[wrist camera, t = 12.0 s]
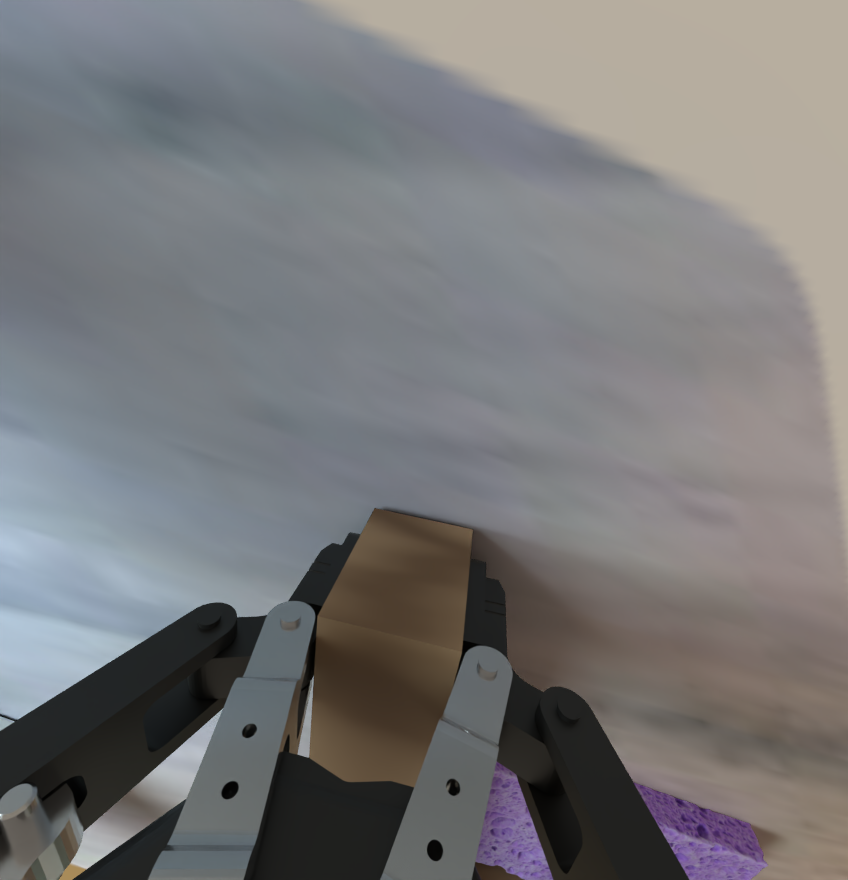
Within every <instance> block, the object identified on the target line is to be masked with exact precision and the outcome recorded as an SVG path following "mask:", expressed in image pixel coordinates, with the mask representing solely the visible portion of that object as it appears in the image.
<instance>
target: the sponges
mask: <svg viewBox="0 0 848 880" xmlns="http://www.w3.org/2000/svg"><path fill="white" fill-rule="evenodd" d="M633 783H634V782H633ZM634 784H635V786H636V788H637V790H638V791H639V793H640V795H641V797H642V798H643V800H644V802H645V803H646V805H647V807H648V809H649V810H650V812H651V814H652V816H653V817H654V819H655V821H656V822H657V824H658V826H659V828H660V829H661V831H662V833H663V835H664V836H665V838H666V840H667V842H668V843H669V845H670V847H671V848H672V850H673V852H674V854H675V855H676V857H677V859H678V861H679V862H680V864H681V866H682V867H683V869H684V871H685V873H686V874H687V876H688V878H689V880H750V879H752V878H753V877H754V876H756V875H757V874H758V873H759V872H760V871H761V870H762V869H763V868H765V867H767V866H768V864H767V863H766V862H765V861H764V860H763V851H762V849H761V848H760V847H759V843H758V840H757V837H756V835H755V833H754V831H753V830H752V829H751V825H750V824H749V823H746V822H743V821H740V820H737V819H734V818H731V817H729V816H726V815H723V814H720V813H716V812H713V811H711V810H709V809H701V808H699V807H698V806H697V805H695V804H693V803H690V802H687V801H684V800H680V799H677V798H675V797H673V796H670V795H667V794H664V793H662V792H658V791H655V790H653V789H651V788H648V787H645V786H642V785H639V784H637V783H634ZM475 862H478V863H482V864H486V865H489V866H495V865H498V866H501V867H503V868H504V869H505V870H506V872H507V873H510V874H515V875H517V876H519V877H520V878H522V879H525V880H553V877H552V874H551V872H550V869H549V866H548V863H547V861H546V858H545V855H544V852H543V849H542V847H541V844H540V841H539V838H538V835H537V833H536V830H535V827H534V824H533V821H532V819H531V816H530V813H529V810H528V807H527V805H526V802H525V799H524V796H523V794H522V791H521V788H520V785H519V782H518V779H517V775H516V774H515V773H513V772H512V771H510V770H509V769H507V768H506V767H504V766H503V765H501V764H500V763H498V762H497V761H496V766H495V771H494V775H493V780H492V785H491V790H490V794H489V799H488V804H487V809H486V814H485V818H484V823H483V828H482V833H481V837H480V842H479V847H478V852H477V856H476V861H475Z"/></svg>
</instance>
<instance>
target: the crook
mask: <svg viewBox="0 0 848 880" xmlns="http://www.w3.org/2000/svg"><path fill="white" fill-rule="evenodd" d="M472 534H473V529H468V528H464V527H459V526H454V525H450V524H445V523H441V522H436V521H431V520H427V519H422V518H418V517H413V516H409V515H404V514H399V513H395V512H390V511H386V510H381V509H377V508H375V509H374V511H373V512H372V514H371V516H370V518H369V520H368V522H367V524H366V526H365V528H364V529H363V531H362V533H361V535H360V537H359V539H358V541H357V543H356V545H355V546H354V548H353V550H352V552H351V554H350V556H349V558H348V560H347V561H346V563H345V565H344V567H343V569H342V571H341V573H340V575H339V577H338V578H337V580H336V582H335V584H334V586H333V588H332V590H331V592H330V593H329V595H328V597H327V599H326V601H325V603H324V605H323V607H322V609H321V610H320V612H319V614H318V617H317V634H316V651H315V669H314V686H313V703H312V720H311V737H310V754H309V758H310V759H312V760H313V761H315V762H316V763H318V764H319V765H321V766H322V767H324V768H325V769H327V770H328V771H330V772H331V773H333V774H334V775H336V776H337V777H339V778H340V779H342V780H344V781H346V782H371V781H393V782H397V783H400V784H404V785H407V786H411V787H415V784H416V781H417V779H418V776H419V773H420V771H421V768H422V765H423V762H424V760H425V757H426V754H427V751H428V749H429V746H430V743H431V741H432V738H433V735H434V732H435V730H436V727H437V724H438V722H439V720H440V717H442V716H443V713H444V711H445V708H446V705H447V703H448V700H449V697H450V694H451V691H452V689H453V685H454V681H455V677H456V673H457V669H458V665H459V661H460V658H461V654H462V646H463V635H464V623H465V612H466V601H467V590H468V579H469V568H470V557H471V545H472ZM475 866H476V869H477V871H478V873H479V875H480V878H481V880H525V879H522V878H520V877H519V876H517V875H515V874H510V873H507V872H506V870H505V869H504V868H503V867H501V866H498V865H495V866H489V865H486V864H482V863H478V862H475Z"/></svg>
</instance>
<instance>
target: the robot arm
mask: <svg viewBox="0 0 848 880" xmlns="http://www.w3.org/2000/svg"><path fill="white" fill-rule="evenodd" d="M359 537H360V534H356V533H351V532H350V533H349V534H348V536H347V538H346V539H345V541H344V543H343V544H342V545H339V544H334V543H332V544H330V545H329V546H327V547H326V548H324V549H323V550H321V552H320V553H319V555H318V556H317V558H316V559H315V561H314V563H313V564H312V565H311V567H310V569H309V571H308V572H307V573H306V575H305V576H304V578H303V579H302V581H301V582H300V584H299V585H298V587H297V589H296V590H295V592H294V593H293V595H292V596H291V598H290V599H289V601H288V602H284V603H281V604H279V605H277V606H276V607H274V608H273V609H272V610H271V611H270V612H269V613H268V615H265V616H259V617H237V614H236V611H235V609H234V608H233V607H232V606H230V605H228V604H225V603H209V604H206V605H203V606H200V607H198V608H196V609H194V610H193V611H191V612H190V613H188V614H186V615H185V616H183V617H182V618H180V619H178V620H177V621H175V622H174V623H172V624H170V625H169V626H167V627H166V628H164V629H162V630H161V631H159V632H158V633H156V634H154V635H153V636H151V637H150V638H148V639H146V640H145V641H143V642H142V643H140V644H138V645H137V646H135V647H134V648H132V649H130V650H129V651H127V652H126V653H124V654H122V655H121V656H119V657H118V658H116V659H114V660H113V661H111V662H110V663H108V664H106V665H105V666H103V667H102V668H100V669H98V670H97V671H95V672H94V673H92V674H90V675H89V676H87V677H86V678H84V679H82V680H81V681H79V682H78V683H76V684H74V685H73V686H71V687H70V688H68V689H66V690H65V691H63V692H62V693H60V694H58V695H57V696H55V697H54V698H52V699H50V700H49V701H47V702H46V703H44V704H42V705H41V706H39V707H38V708H36V709H34V710H33V711H31V712H30V713H28V714H26V715H25V716H23V717H22V718H20V719H18V720H17V721H15V722H14V723H12V724H10V725H9V726H7V727H6V728H4V729H2V730H1V731H0V880H59V879H60V877H61V876H62V874H63V871H64V870H65V869H66V868H67V866H68V865H69V864H70V863H71V861H72V859H73V858H74V856H75V855H76V853H77V851H78V849H79V846H80V843H81V841H82V836H83V832H84V831H85V830H86V829H87V828H88V827H89V826H90V825H92V824H93V823H94V822H95V821H96V820H97V819H98V818H99V817H101V816H102V815H103V814H104V813H105V812H106V811H107V810H108V809H110V808H111V807H112V806H113V805H114V804H115V803H116V802H118V801H119V800H120V799H121V798H122V797H123V796H124V795H125V794H127V793H128V792H129V791H130V790H131V789H132V788H133V787H134V786H136V785H137V784H138V783H139V782H140V781H141V780H142V779H143V778H145V777H146V776H147V775H148V774H149V773H150V772H151V771H153V770H154V769H155V768H156V767H157V766H158V765H159V764H160V763H162V762H163V761H164V760H165V759H166V758H167V757H168V756H169V755H171V754H172V753H173V752H174V751H175V750H176V749H177V748H179V747H180V746H181V745H182V744H183V743H184V742H185V741H186V740H188V739H189V738H190V737H191V736H192V735H193V734H194V733H195V732H197V731H198V730H199V729H200V728H201V727H202V726H203V725H205V724H206V723H207V722H208V721H209V720H210V719H211V718H212V717H214V716H215V715H216V714H217V713H218V712H219V711H220V710H221V709H223V710H222V713H221V715H220V718H219V720H218V722H217V725H216V727H215V730H214V732H213V735H212V737H211V740H210V742H209V745H208V747H207V750H206V752H205V755H204V757H203V760H202V762H201V765H200V767H199V770H198V772H197V775H196V777H195V780H194V782H193V785H192V787H191V789H190V792H189V794H188V797H187V799H185V800H184V801H182V802H181V803H180V804H178V805H177V806H175V807H174V808H173V809H171V810H170V811H168V812H167V813H166V814H164V815H163V816H161V817H160V818H159V819H157V820H156V821H154V822H153V823H151V824H150V825H149V826H147V827H146V828H144V829H143V830H142V831H140V832H139V833H137V834H136V835H135V836H133V837H132V838H130V839H129V840H128V841H126V842H125V843H123V844H122V845H121V846H119V847H118V848H116V849H115V850H113V851H112V852H111V853H109V854H108V855H106V856H105V857H104V858H102V859H101V860H99V861H98V862H97V863H95V864H94V865H92V866H91V867H90V868H88V869H87V870H85V871H84V872H83V873H81V874H80V875H78V876H77V877H76V878H74V879H73V880H481V878H480V875H479V873H478V871H477V869H476V866H475V861H476V856H477V852H478V847H479V842H480V837H481V833H482V828H483V823H484V818H485V814H486V809H487V804H488V799H489V794H490V790H491V785H492V780H493V775H494V771H495V766H496V761H497V762H498V763H500V764H501V765H503V766H504V767H506V768H507V769H509V770H510V771H512V772H513V773H515V774H516V775H517V779H518V782H519V785H520V788H521V791H522V794H523V796H524V799H525V802H526V805H527V807H528V810H529V813H530V816H531V819H532V821H533V824H534V827H535V830H536V833H537V835H538V838H539V841H540V844H541V847H542V849H543V852H544V855H545V858H546V861H547V863H548V866H549V869H550V872H551V874H552V877H553V880H689V878H688V876H687V874H686V873H685V871H684V869H683V867H682V866H681V864H680V862H679V861H678V859H677V857H676V855H675V854H674V852H673V850H672V848H671V847H670V845H669V843H668V842H667V840H666V838H665V836H664V835H663V833H662V831H661V829H660V828H659V826H658V824H657V822H656V821H655V819H654V817H653V816H652V814H651V812H650V810H649V809H648V807H647V805H646V803H645V802H644V800H643V798H642V797H641V795H640V793H639V791H638V790H637V788H636V786H635V784H634V783H633V781H632V779H631V777H630V776H629V774H628V772H627V771H626V769H625V767H624V765H623V764H622V762H621V760H620V758H619V757H618V755H617V753H616V752H615V750H614V748H613V746H612V745H611V743H610V741H609V739H608V738H607V736H606V734H605V732H604V731H603V729H602V727H601V726H600V724H599V722H598V720H597V719H596V717H595V715H594V713H593V712H592V710H591V708H590V707H589V705H588V704H587V703H586V702H585V700H583V699H582V698H581V697H580V696H579V695H578V694H576V693H575V692H573V691H571V690H569V689H566V688H563V687H551V688H549V689H547V690H546V691H544V692H542V691H540V690H538V689H536V688H535V687H533V686H531V685H529V684H528V683H526V682H525V681H523V680H522V679H521V678H520V677H519V676H518V675H517V674H516V673H515V672H514V671H513V669H512V667H511V665H510V663H509V661H508V658H507V638H506V617H505V616H506V608H505V592H504V590H503V588H502V586H501V584H500V582H499V580H494V579H490V578H486V562H482V561H478V560H473V559H470V568H469V579H468V590H467V601H466V612H465V623H464V635H463V646H462V654H461V658H460V661H459V665H458V669H457V673H456V677H455V681H454V685H453V689H452V691H451V694H450V697H449V700H448V703H447V705H446V708H445V711H444V713H443V716H442V717H440V720H439V722H438V724H437V727H436V730H435V732H434V735H433V738H432V741H431V743H430V746H429V749H428V751H427V754H426V757H425V760H424V762H423V765H422V768H421V771H420V773H419V776H418V779H417V781H416V784H415V787H411V786H407V785H404V784H400V783H397V782H393V781H371V782H346V781H344V780H342V779H340V778H339V777H337V776H336V775H334V774H333V773H331V772H330V771H328V770H327V769H325V768H324V767H322V766H321V765H319V764H318V763H316V762H315V761H313V760H312V759H310V758H307V757H304V756H300V755H297V753H298V747H299V742H300V737H301V733H302V728H303V723H304V719H305V714H306V709H307V705H308V700H309V695H310V690H311V686H312V678H313V676H314V669H315V651H316V634H317V617H318V614H319V612H320V610H321V609H322V607H323V605H324V603H325V601H326V599H327V597H328V595H329V593H330V592H331V590H332V588H333V586H334V584H335V582H336V580H337V578H338V577H339V575H340V573H341V571H342V569H343V567H344V565H345V563H346V561H347V560H348V558H349V556H350V554H351V552H352V550H353V548H354V546H355V545H356V543H357V541H358V539H359Z"/></svg>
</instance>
